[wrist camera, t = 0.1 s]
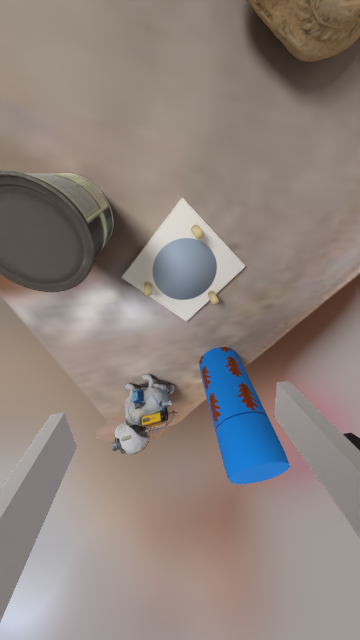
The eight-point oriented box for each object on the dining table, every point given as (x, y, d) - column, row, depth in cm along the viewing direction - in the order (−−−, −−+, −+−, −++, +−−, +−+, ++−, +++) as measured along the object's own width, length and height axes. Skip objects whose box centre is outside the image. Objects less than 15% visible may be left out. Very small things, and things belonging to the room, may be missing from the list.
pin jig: (182, 197, 29) (185, 200, 26) (243, 264, 37) (252, 272, 34) (122, 275, 35) (119, 285, 32) (185, 318, 43) (188, 330, 40)
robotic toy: (105, 391, 55) (93, 451, 43) (157, 365, 51) (159, 424, 39) (134, 409, 62) (130, 465, 50) (181, 387, 58) (189, 443, 46)
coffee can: (125, 240, 32) (112, 277, 20) (66, 258, 32) (22, 303, 21) (92, 161, 25) (48, 151, 14) (20, 185, 26) (-78, 194, 15)
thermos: (206, 344, 48) (246, 463, 29) (244, 348, 51) (304, 460, 31) (193, 372, 54) (218, 486, 35) (227, 375, 57) (269, 482, 37)
